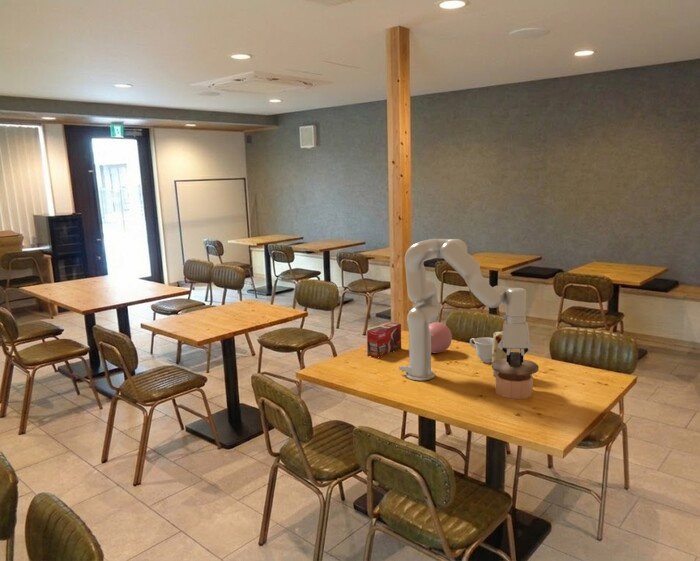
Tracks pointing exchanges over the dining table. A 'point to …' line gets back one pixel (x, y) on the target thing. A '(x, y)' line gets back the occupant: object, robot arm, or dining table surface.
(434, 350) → the balloon
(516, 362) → the lid
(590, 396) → the dining table surface
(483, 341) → the teacup
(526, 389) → the bowl
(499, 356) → the food model
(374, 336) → the ice cream box
